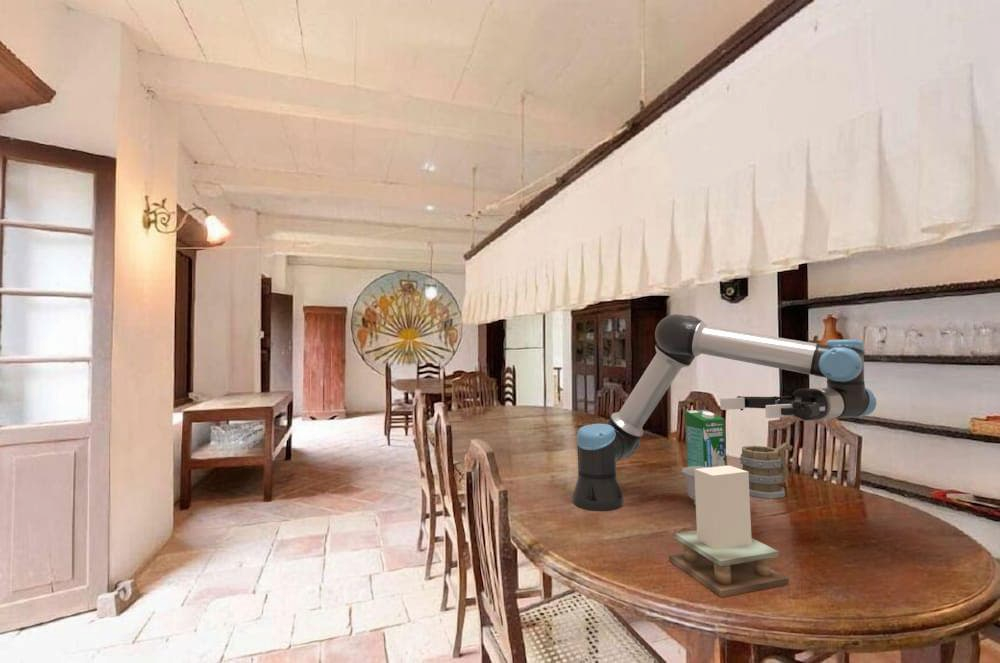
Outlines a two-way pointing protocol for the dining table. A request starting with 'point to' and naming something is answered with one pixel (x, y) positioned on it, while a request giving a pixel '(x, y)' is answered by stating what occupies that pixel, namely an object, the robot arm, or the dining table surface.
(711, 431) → the milk carton
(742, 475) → the cream rectangular block
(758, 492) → the tankard
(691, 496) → the teacup
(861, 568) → the dining table surface
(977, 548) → the dining table surface
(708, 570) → the peg shelf
